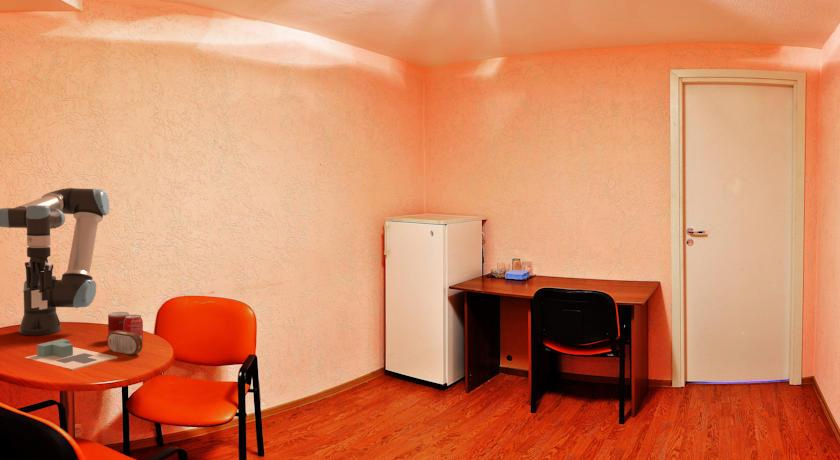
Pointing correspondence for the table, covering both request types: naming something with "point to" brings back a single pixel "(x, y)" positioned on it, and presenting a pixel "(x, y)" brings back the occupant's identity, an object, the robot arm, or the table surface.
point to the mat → (75, 359)
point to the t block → (55, 348)
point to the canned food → (116, 321)
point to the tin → (124, 342)
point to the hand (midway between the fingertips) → (39, 308)
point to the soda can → (134, 325)
